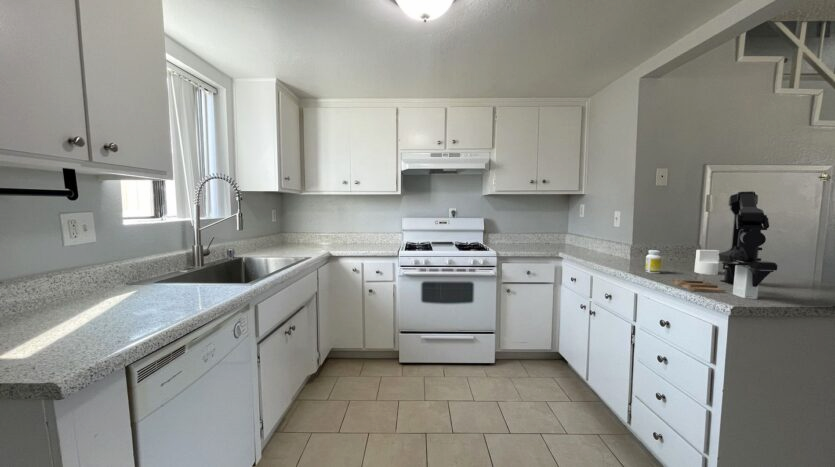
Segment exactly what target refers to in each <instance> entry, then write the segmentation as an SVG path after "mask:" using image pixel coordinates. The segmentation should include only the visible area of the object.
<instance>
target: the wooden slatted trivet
mask: <svg viewBox="0 0 835 467" xmlns="http://www.w3.org/2000/svg"><path fill="white" fill-rule="evenodd" d="M672 284H674V285H676V286H679V287H682V288H683V289H686V290H689V291H690V292H695V293H697V292H698V293H699V292H700V293H716V292H721V293H722V294H725V289H723V288H720V287H719V285H717V284H714V283H712V282H709V281H705V280H690V279H678V280H672ZM721 293H720V294H721Z"/></svg>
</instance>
